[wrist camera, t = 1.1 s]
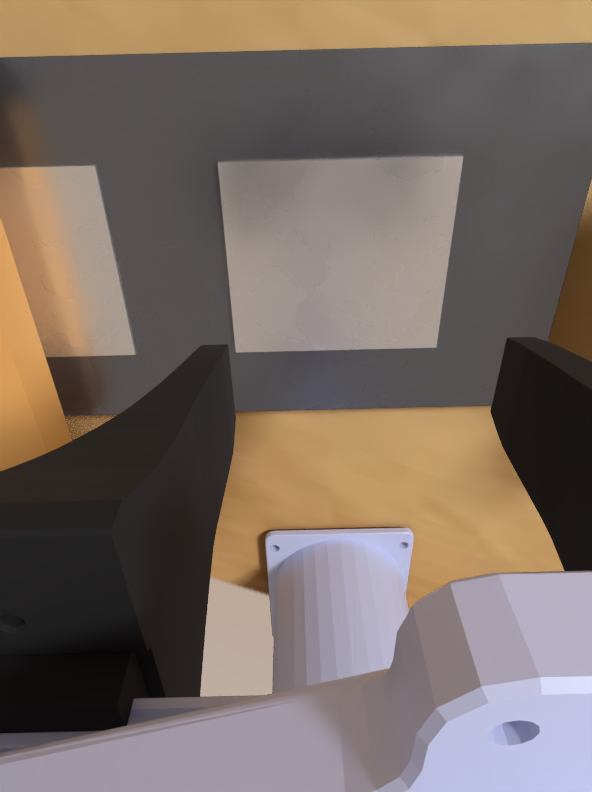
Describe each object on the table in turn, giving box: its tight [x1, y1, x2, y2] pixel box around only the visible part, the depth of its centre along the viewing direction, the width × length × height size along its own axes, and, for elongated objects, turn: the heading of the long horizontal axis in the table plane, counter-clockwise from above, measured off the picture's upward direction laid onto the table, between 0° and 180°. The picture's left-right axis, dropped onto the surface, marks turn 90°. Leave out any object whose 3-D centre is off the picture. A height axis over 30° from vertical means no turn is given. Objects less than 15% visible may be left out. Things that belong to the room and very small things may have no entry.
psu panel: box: [0, 43, 592, 416], centre depth 19 cm, size 13×24×2 cm, turn 91°
